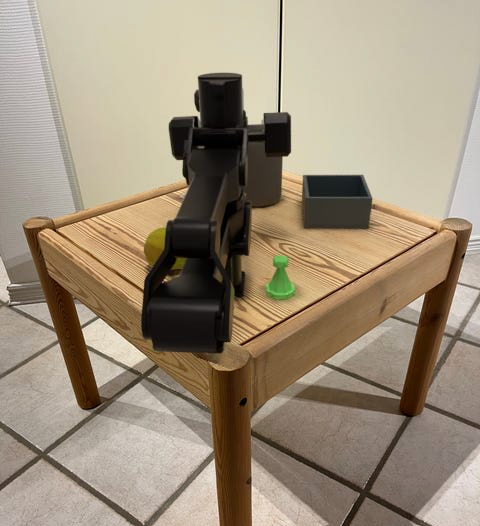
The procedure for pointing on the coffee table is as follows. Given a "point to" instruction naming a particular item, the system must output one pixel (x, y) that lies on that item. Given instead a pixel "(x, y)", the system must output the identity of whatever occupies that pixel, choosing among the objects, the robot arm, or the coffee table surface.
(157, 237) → the fruit
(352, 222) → the bin
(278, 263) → the game piece
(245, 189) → the mug
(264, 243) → the coffee table surface
